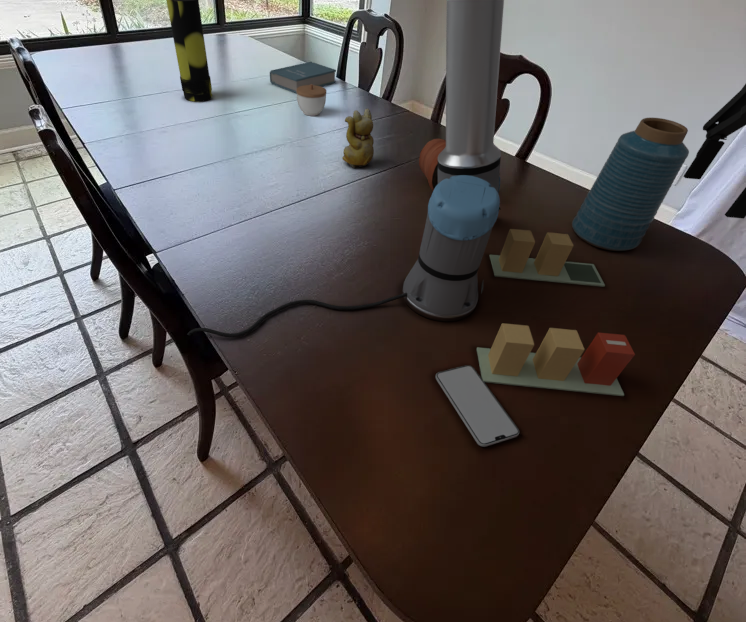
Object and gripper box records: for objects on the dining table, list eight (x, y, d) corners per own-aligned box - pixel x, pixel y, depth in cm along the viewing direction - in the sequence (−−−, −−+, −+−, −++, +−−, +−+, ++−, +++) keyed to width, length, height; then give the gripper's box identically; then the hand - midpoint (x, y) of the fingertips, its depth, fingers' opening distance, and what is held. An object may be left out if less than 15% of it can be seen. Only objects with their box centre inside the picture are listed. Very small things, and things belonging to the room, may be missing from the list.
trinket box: (310, 105, 167) (310, 78, 160) (331, 113, 162) (332, 85, 155) (290, 112, 161) (289, 83, 154) (312, 120, 156) (312, 91, 149)
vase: (651, 254, 106) (726, 141, 87) (587, 253, 105) (649, 139, 86) (617, 219, 118) (677, 112, 98) (559, 218, 116) (608, 110, 97)
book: (296, 93, 176) (296, 79, 172) (270, 83, 183) (269, 69, 179) (335, 83, 188) (336, 69, 184) (309, 74, 195) (309, 61, 191)
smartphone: (471, 363, 77) (522, 433, 67) (470, 366, 78) (520, 435, 68) (433, 373, 75) (481, 446, 65) (433, 375, 76) (479, 448, 66)
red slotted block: (584, 383, 76) (607, 351, 70) (576, 363, 79) (598, 331, 73) (610, 385, 76) (635, 354, 70) (602, 366, 79) (625, 334, 73)
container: (219, 97, 167) (205, -1, 146) (196, 104, 161) (179, 2, 140) (200, 91, 172) (185, -6, 150) (177, 97, 166) (158, -3, 144)
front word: (482, 382, 75) (497, 348, 69) (476, 348, 81) (489, 314, 75) (623, 396, 75) (650, 363, 69) (607, 361, 80) (631, 328, 74)
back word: (494, 276, 97) (507, 244, 91) (489, 255, 102) (500, 223, 96) (604, 286, 96) (624, 254, 90) (592, 265, 102) (610, 233, 96)
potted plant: (405, 187, 128) (465, 244, 103) (415, 131, 118) (484, 179, 93) (452, 185, 132) (521, 239, 107) (466, 131, 122) (545, 177, 97)
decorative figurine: (361, 155, 137) (365, 103, 127) (379, 165, 133) (386, 112, 123) (338, 163, 133) (340, 110, 122) (357, 173, 129) (361, 119, 118)
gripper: (923, 80, 51) (780, 238, 66) (784, 32, 68) (696, 166, 83) (859, 74, 51) (730, 233, 66) (736, 27, 68) (657, 162, 83)
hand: (711, 196), depth 75 cm, fingers open, 13 cm apart
